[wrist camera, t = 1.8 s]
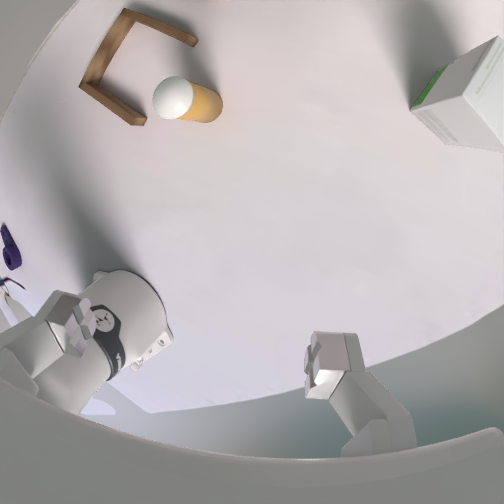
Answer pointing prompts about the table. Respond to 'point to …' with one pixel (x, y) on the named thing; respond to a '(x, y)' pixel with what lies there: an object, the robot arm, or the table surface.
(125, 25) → the bay
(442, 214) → the table surface
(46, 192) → the table surface
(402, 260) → the table surface
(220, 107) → the canister
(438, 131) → the skincare box
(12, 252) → the lever
